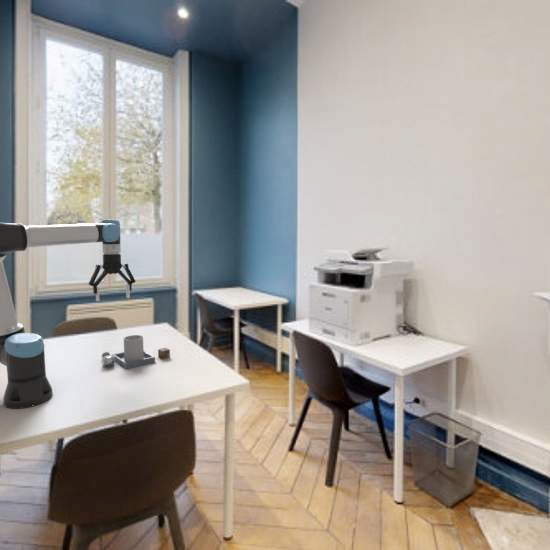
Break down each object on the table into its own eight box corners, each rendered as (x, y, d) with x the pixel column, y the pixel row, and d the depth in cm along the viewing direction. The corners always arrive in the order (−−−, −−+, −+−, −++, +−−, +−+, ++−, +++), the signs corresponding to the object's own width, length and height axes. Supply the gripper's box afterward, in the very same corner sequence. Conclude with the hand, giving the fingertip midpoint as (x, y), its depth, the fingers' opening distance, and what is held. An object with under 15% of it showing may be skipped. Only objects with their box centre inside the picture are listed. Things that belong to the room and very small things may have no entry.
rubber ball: (103, 361, 182) (103, 353, 182) (100, 359, 185) (100, 351, 184) (111, 359, 185) (111, 352, 184) (108, 357, 187) (108, 350, 187)
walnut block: (162, 359, 186) (162, 351, 185) (158, 357, 189) (158, 349, 188) (169, 357, 188) (169, 349, 188) (165, 355, 191) (165, 347, 191)
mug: (144, 362, 179) (143, 339, 178) (124, 364, 177) (123, 340, 175) (143, 354, 191) (142, 332, 189) (124, 356, 188) (124, 333, 186)
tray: (125, 369, 173) (125, 363, 173) (112, 359, 185) (112, 354, 185) (155, 361, 182) (154, 357, 182) (140, 353, 194) (139, 348, 194)
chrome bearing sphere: (104, 368, 173) (104, 359, 173) (101, 365, 177) (100, 357, 177) (116, 365, 177) (115, 357, 176) (112, 363, 180) (111, 354, 180)
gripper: (84, 254, 167) (86, 303, 170) (141, 253, 183) (142, 297, 186) (80, 253, 173) (81, 300, 175) (135, 252, 189) (136, 295, 192)
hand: (113, 299), depth 181 cm, fingers open, 13 cm apart
